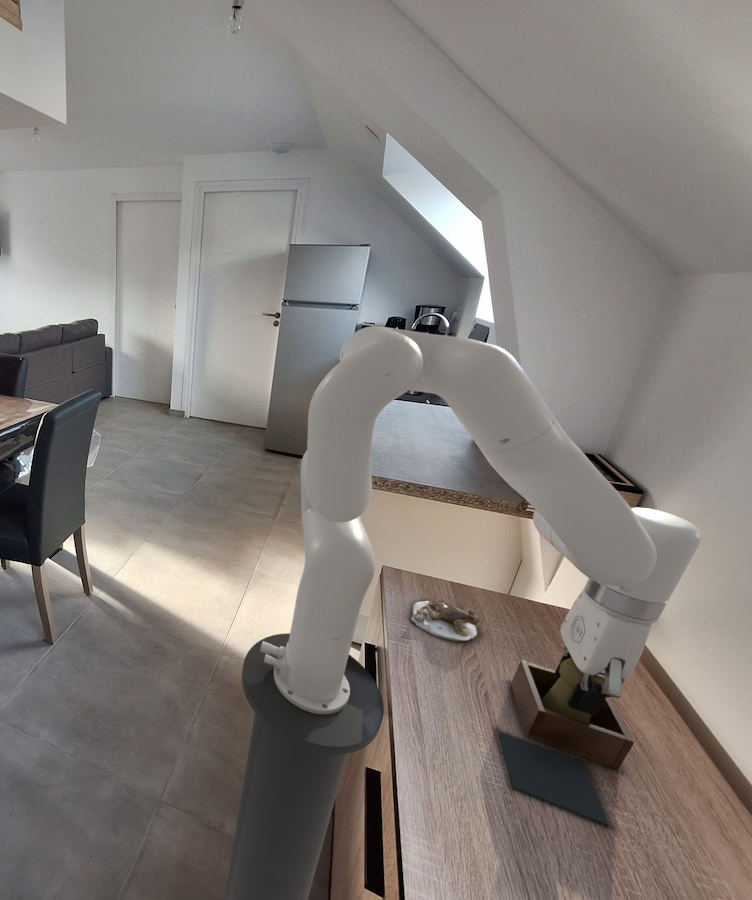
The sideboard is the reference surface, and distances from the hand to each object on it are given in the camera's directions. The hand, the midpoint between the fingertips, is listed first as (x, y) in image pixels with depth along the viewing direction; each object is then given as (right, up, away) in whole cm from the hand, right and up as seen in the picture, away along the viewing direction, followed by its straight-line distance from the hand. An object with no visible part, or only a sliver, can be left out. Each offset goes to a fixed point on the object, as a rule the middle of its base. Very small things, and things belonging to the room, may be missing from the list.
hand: (574, 693), depth 68 cm
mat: (-9, -9, -5) cm, 13 cm away
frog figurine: (-5, +2, +23) cm, 24 cm away
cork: (0, -6, +2) cm, 6 cm away
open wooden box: (0, -6, +2) cm, 6 cm away
